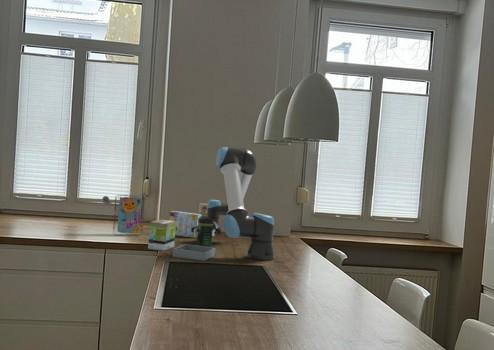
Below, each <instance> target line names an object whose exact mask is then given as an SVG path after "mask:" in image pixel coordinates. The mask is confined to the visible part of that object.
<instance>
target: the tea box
mask: <svg viewBox="0 0 494 350" xmlns="http://www.w3.org/2000/svg"><path fill="white" fill-rule="evenodd" d="M175 231H176V221H169V219H168V220H166V219H158V220H153V221H150V224H149V231H148V232H149V233H148V243H147V249H149V250H156V251H163V252H164V251H167V250H169V249H172V248H175V242H176V240H175V239H176V235H175Z"/></svg>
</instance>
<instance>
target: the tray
mask: <svg viewBox="0 0 494 350" xmlns="http://www.w3.org/2000/svg"><path fill="white" fill-rule="evenodd" d="M216 250H217V249H216V247H212V246H211V247H206V246H198V245H195V244H189V243H188V244H187V243H185V244H183V245H182V244H181V245H180V246H177V247H173V249H172V257H173V258H182V259H188V260H189V259H190V260H196V261H203V262H204V261H207V260H208V259H211V258H213V257H215V256H216Z"/></svg>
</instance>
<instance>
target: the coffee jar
mask: <svg viewBox="0 0 494 350" xmlns="http://www.w3.org/2000/svg"><path fill="white" fill-rule="evenodd" d="M212 231H213V219H211V218H209V217H207V215H205V216H204V215H203V216H202V215H201V217H199V219H198V233H197V238H196V245H198V246H206V247H212V246H213V245H212V243H213V236H212Z"/></svg>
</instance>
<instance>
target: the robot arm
mask: <svg viewBox="0 0 494 350" xmlns="http://www.w3.org/2000/svg"><path fill="white" fill-rule="evenodd" d="M215 157H216V158H215V166H216V168H220V173H221V174H223V179H224V187H225V195H226V202H227V203H221V201H220V200H218V199H208V201H207V202H208V203H207V206H206V207H207V212H206V216H207V217H209V218H211V219H213V231H212V237H214V236H215V235H220V236H221V232H222V230H221V227H220V216H221V217H223V224H222V225H223V230H224V233H225V235H226V236H227V237H229V238H235V239H239V238H240V239H243V238H246V239H247V238H248V239H249V238H250V243H249V246H248V249H247V250H246V257H247V258H249V259H253V260H257V261H259V260H260V261H273V260H275V257H276V252H275V250H274V245H273V240H274V232H275V231H274V230H275V219H274V216H271V215H267V214H262V213H257V212H253V213H252V215H249V212H248V209H245V205H244V204H245V203H244V198H245V195H246V193H247V190H248V188H249V185H250V182H251V179H252V176H253V175H255V173H256V171H257V164H258V163H257V158H256V157H255V154H254V153H253V152H252V151H251V150H250V149H247V148H240V147H229V146H222V147H220V148H219V149H218V151H217V153H216V156H215ZM191 232H194V234H196V233H197V232H198V226H196V227H192V228H191Z"/></svg>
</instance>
